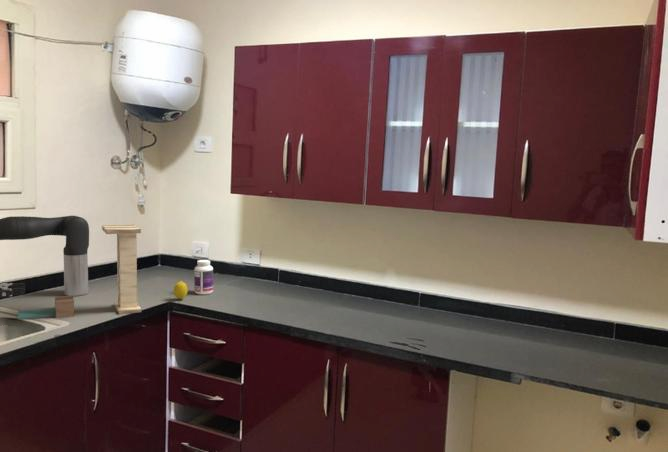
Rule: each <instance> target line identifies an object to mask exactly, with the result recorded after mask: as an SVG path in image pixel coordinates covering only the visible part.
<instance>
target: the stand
mask: <svg viewBox="0 0 668 452" xmlns="http://www.w3.org/2000/svg"><path fill="white" fill-rule="evenodd" d="M101 229H102V231H103V232H104V233H105V234H106V235H116V259H117V260H116V261H117V262H116V268H117V269H116V270H117V273H116V274H117V275H116V276H117V277H116V278H117V301H113V305H114V307H115V310H116V311H117V312H118V314H119V315H124V314H136V313H138V314H139V313H142V308H141V306H140V305H139V303H138V269H137V268H138V267H137V266H138V264H137V262H138V259H137V258H138V254H137V241H138V240H137V234H141V233H142V231H141V230H142V229H141V228H140V227H138V226H137V225H135V224H111V225H110V224H108V225H107V224H106V225H105V224H104V225H101Z"/></svg>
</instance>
